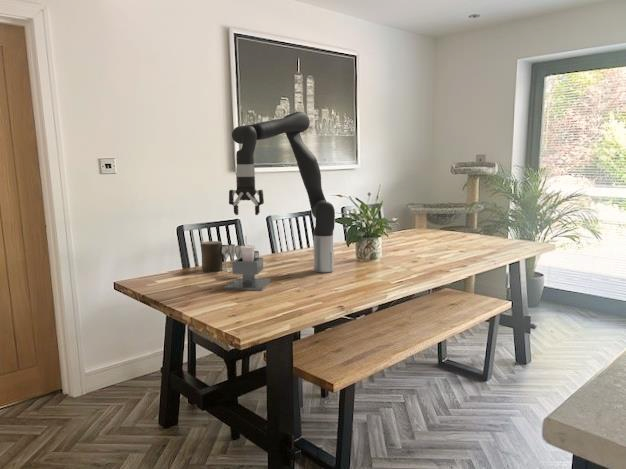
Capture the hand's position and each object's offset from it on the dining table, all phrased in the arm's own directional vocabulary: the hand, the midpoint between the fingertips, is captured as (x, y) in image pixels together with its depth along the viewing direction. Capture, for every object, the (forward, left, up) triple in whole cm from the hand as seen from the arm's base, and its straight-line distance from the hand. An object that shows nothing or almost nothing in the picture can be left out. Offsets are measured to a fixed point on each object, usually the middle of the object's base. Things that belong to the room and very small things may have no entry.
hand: (246, 214), depth 203 cm
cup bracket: (0, 0, -30) cm, 30 cm away
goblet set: (+10, -20, -30) cm, 38 cm away
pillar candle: (+25, -25, -30) cm, 47 cm away
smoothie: (0, 0, -23) cm, 23 cm away
